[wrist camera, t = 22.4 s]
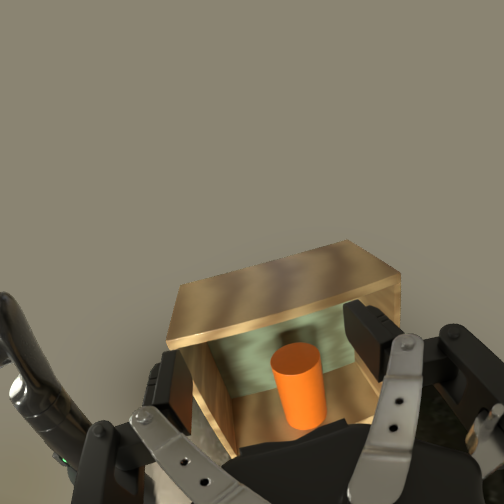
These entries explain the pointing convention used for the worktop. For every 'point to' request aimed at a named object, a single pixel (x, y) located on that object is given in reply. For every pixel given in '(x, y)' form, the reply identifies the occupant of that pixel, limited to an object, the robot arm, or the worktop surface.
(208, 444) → the worktop surface
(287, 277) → the shelf unit
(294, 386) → the can
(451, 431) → the worktop surface
